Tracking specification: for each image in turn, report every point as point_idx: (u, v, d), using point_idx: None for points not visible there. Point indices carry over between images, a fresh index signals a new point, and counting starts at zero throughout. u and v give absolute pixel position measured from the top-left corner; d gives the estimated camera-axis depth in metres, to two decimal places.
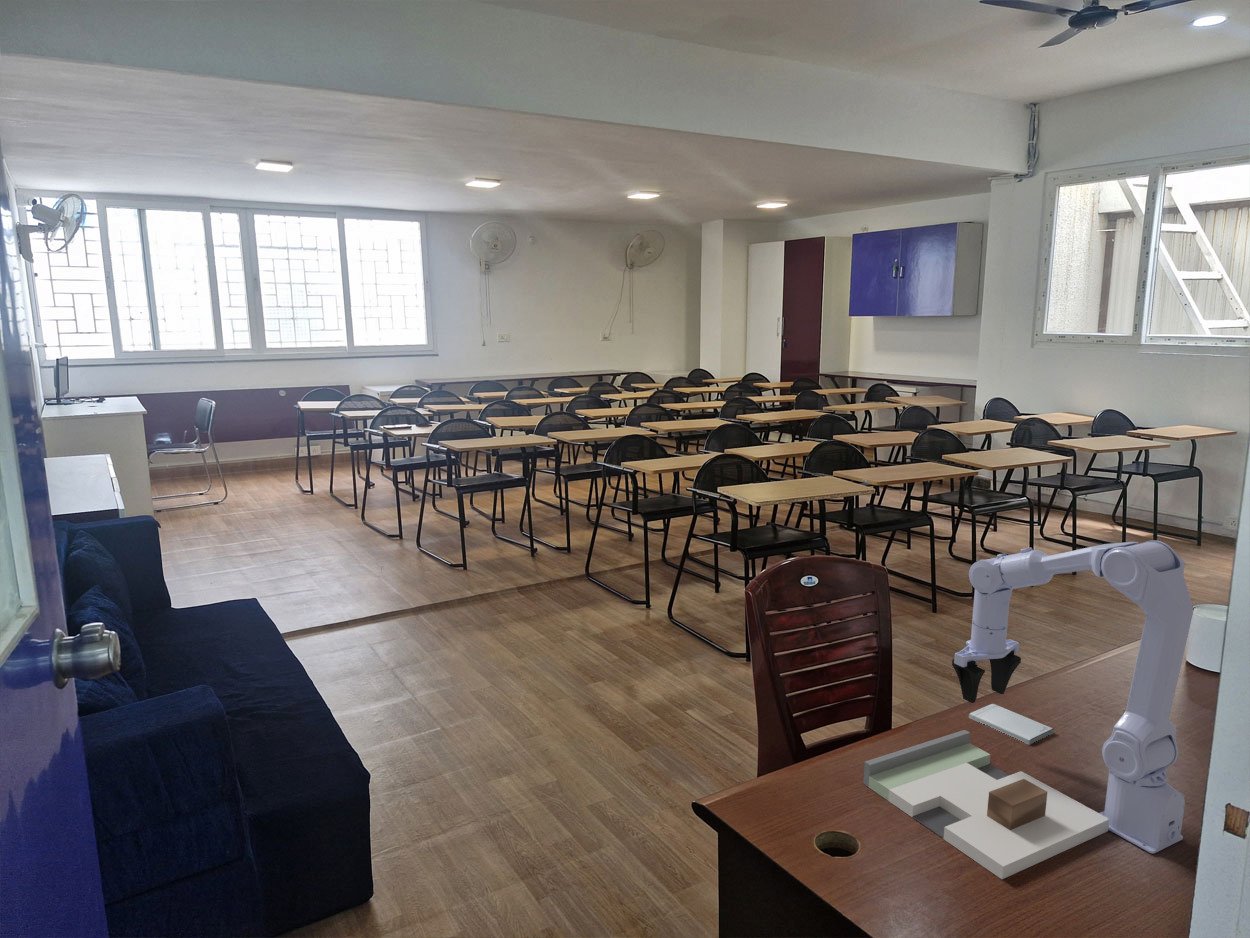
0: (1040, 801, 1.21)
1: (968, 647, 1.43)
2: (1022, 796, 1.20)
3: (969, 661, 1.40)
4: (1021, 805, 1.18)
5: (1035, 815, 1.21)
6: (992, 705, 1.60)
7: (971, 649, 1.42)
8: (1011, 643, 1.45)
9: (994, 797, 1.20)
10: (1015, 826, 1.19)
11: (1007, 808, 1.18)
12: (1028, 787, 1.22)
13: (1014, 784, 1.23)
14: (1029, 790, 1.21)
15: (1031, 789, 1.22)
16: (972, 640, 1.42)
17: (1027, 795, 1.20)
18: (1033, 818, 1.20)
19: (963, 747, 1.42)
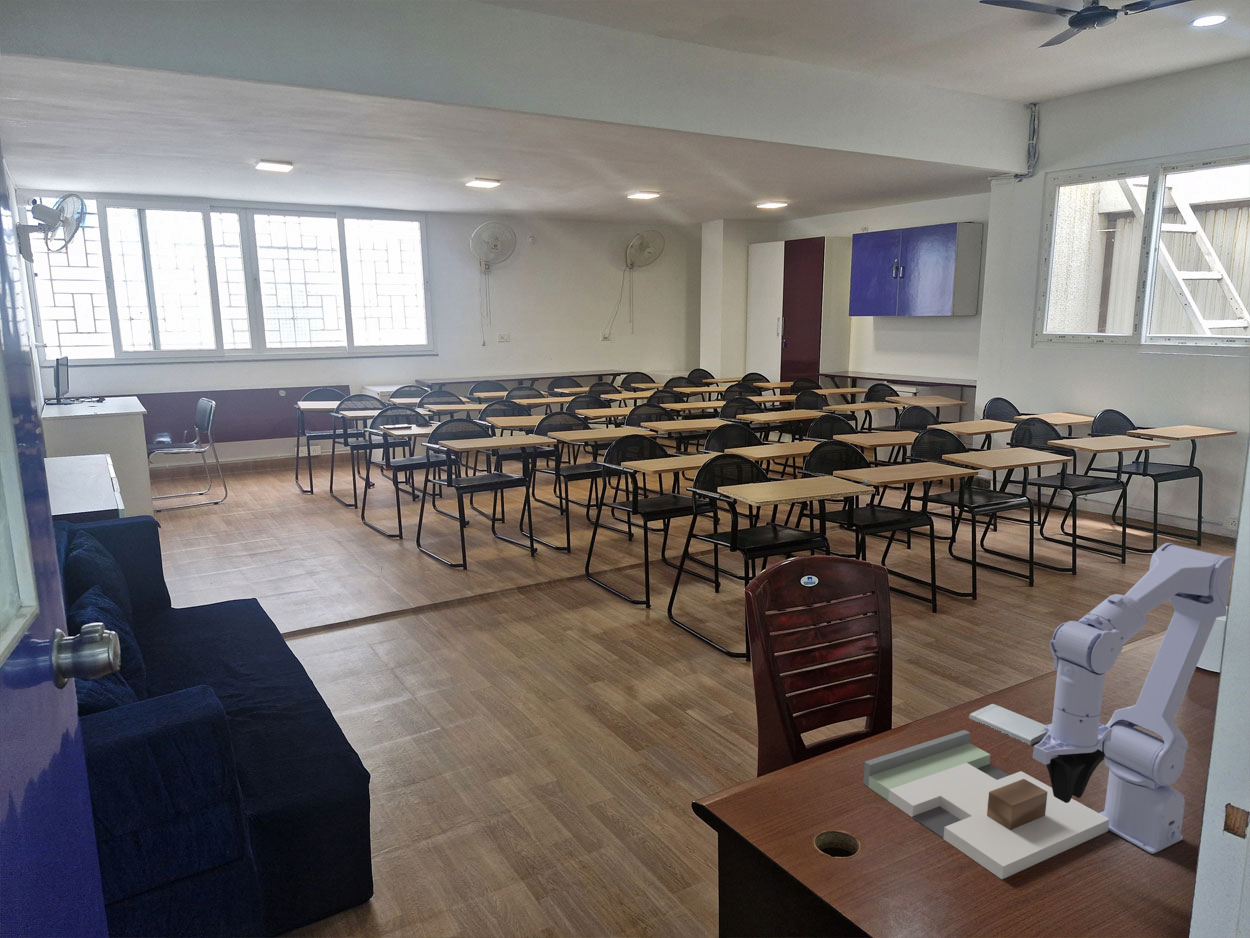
0: (1040, 801, 1.21)
1: (1049, 735, 1.13)
2: (1022, 796, 1.20)
3: (1052, 756, 1.10)
4: (1021, 805, 1.18)
5: (1035, 815, 1.21)
6: (992, 705, 1.60)
7: (1053, 739, 1.12)
8: (1101, 729, 1.15)
9: (994, 797, 1.20)
10: (1015, 826, 1.19)
11: (1007, 808, 1.18)
12: (1028, 787, 1.22)
13: (1014, 784, 1.23)
14: (1029, 790, 1.21)
15: (1031, 789, 1.22)
16: (1054, 728, 1.12)
17: (1027, 795, 1.20)
18: (1033, 818, 1.20)
19: (963, 747, 1.42)
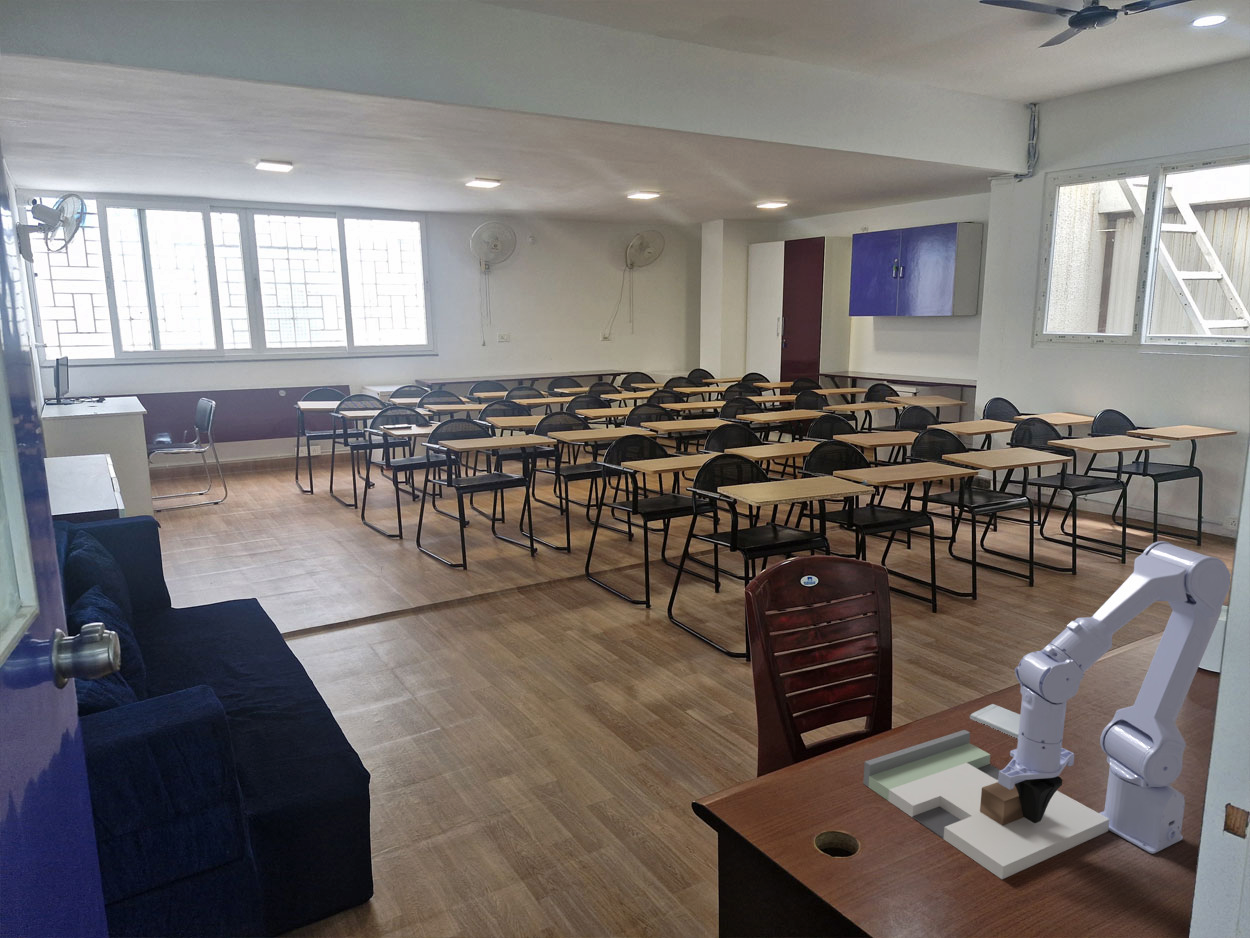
0: None
1: (1014, 761, 1.18)
2: (1015, 792, 1.21)
3: (1016, 780, 1.15)
4: (1013, 800, 1.20)
5: None
6: (992, 705, 1.60)
7: (1018, 764, 1.17)
8: (1064, 754, 1.20)
9: (987, 792, 1.21)
10: (1007, 821, 1.20)
11: (999, 804, 1.19)
12: None
13: None
14: None
15: None
16: (1019, 753, 1.17)
17: None
18: None
19: (963, 747, 1.42)
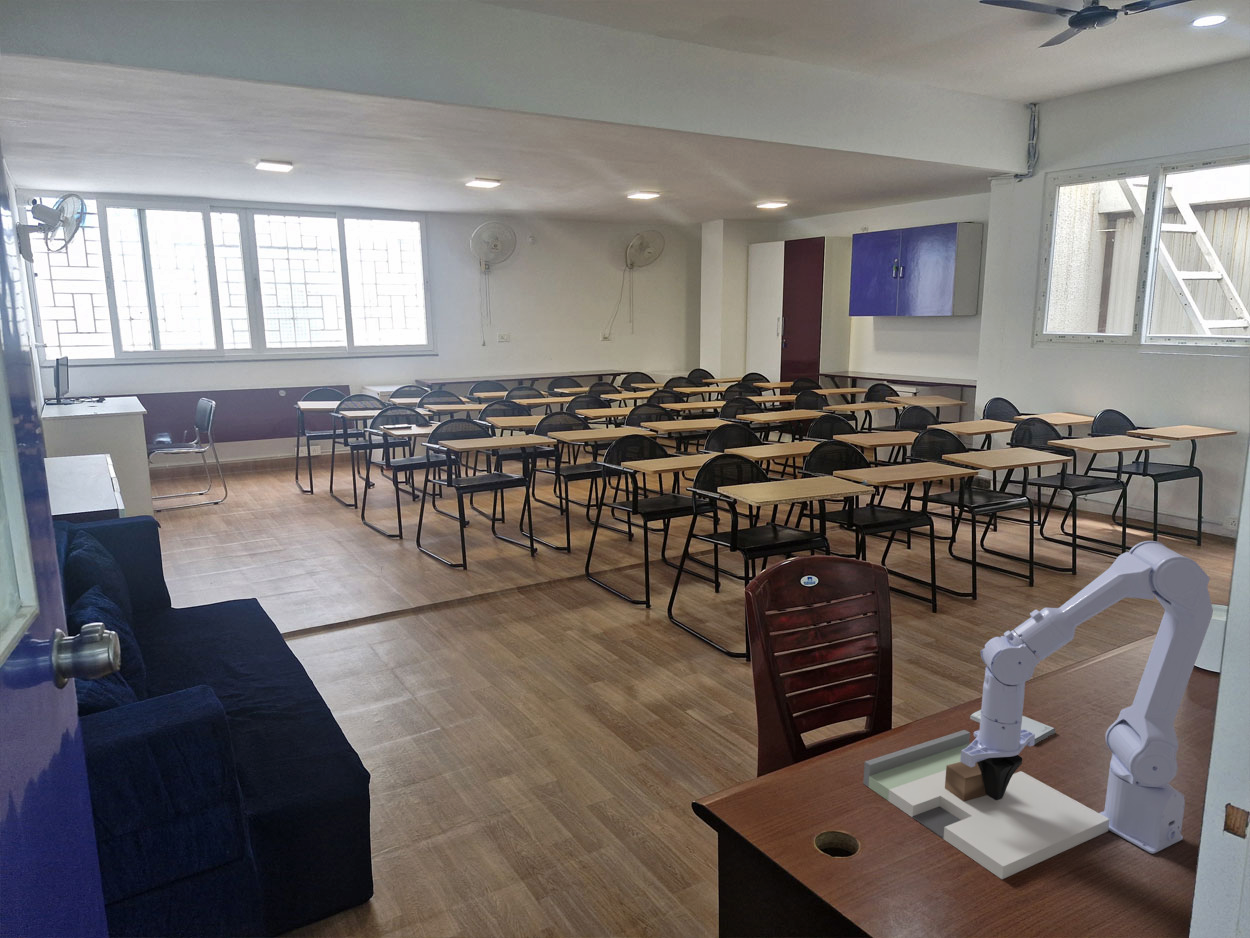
0: None
1: (976, 741, 1.24)
2: (978, 770, 1.27)
3: (978, 759, 1.21)
4: (975, 778, 1.25)
5: None
6: None
7: (980, 744, 1.23)
8: (1025, 734, 1.26)
9: (951, 770, 1.27)
10: (969, 798, 1.26)
11: (961, 781, 1.25)
12: None
13: None
14: None
15: None
16: (981, 733, 1.23)
17: None
18: None
19: (963, 747, 1.42)
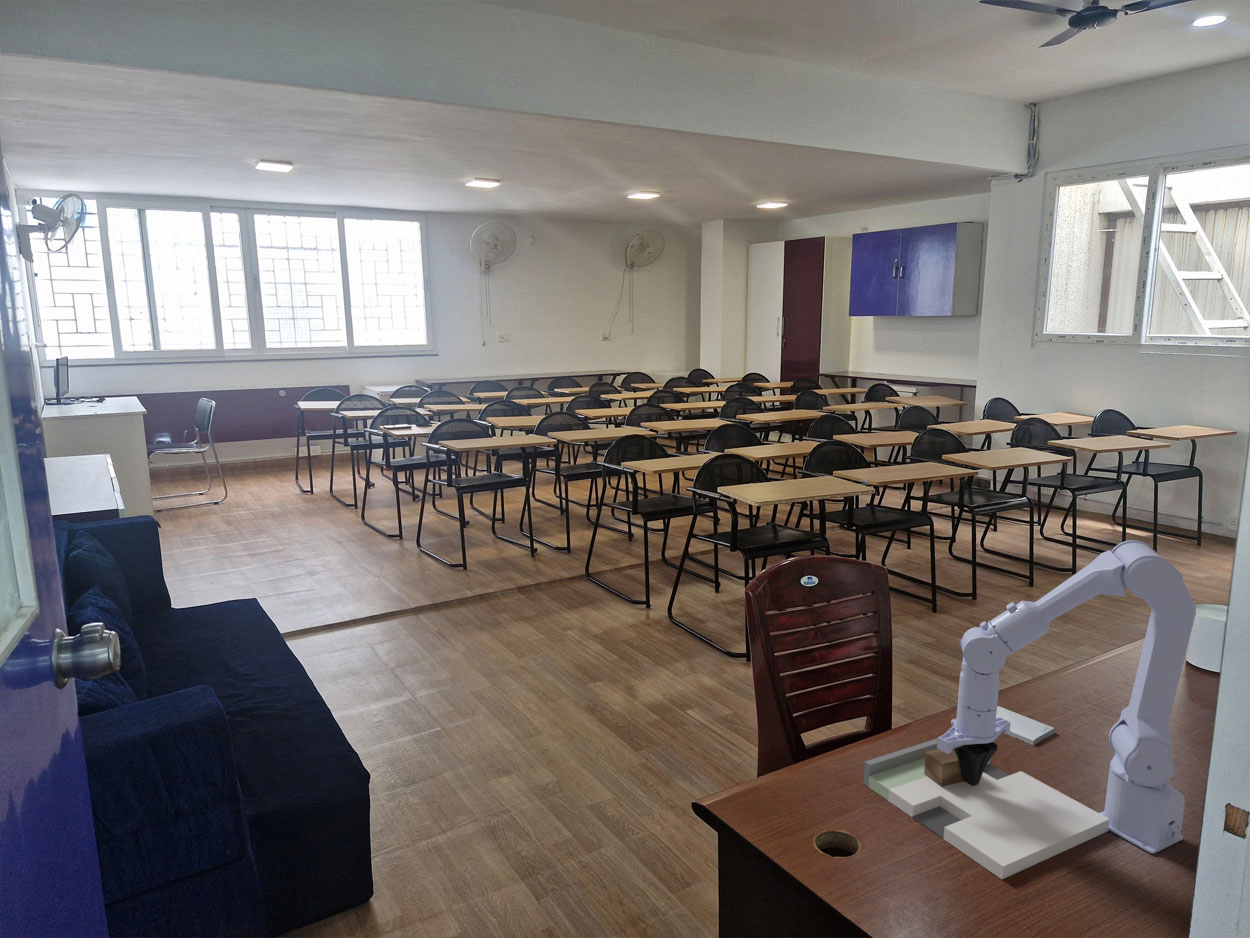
0: None
1: (953, 728, 1.28)
2: (956, 757, 1.31)
3: (954, 746, 1.25)
4: (953, 764, 1.29)
5: None
6: None
7: (956, 731, 1.27)
8: (1001, 722, 1.30)
9: (929, 756, 1.31)
10: (947, 783, 1.30)
11: (938, 766, 1.29)
12: None
13: None
14: None
15: None
16: (958, 721, 1.27)
17: None
18: None
19: None
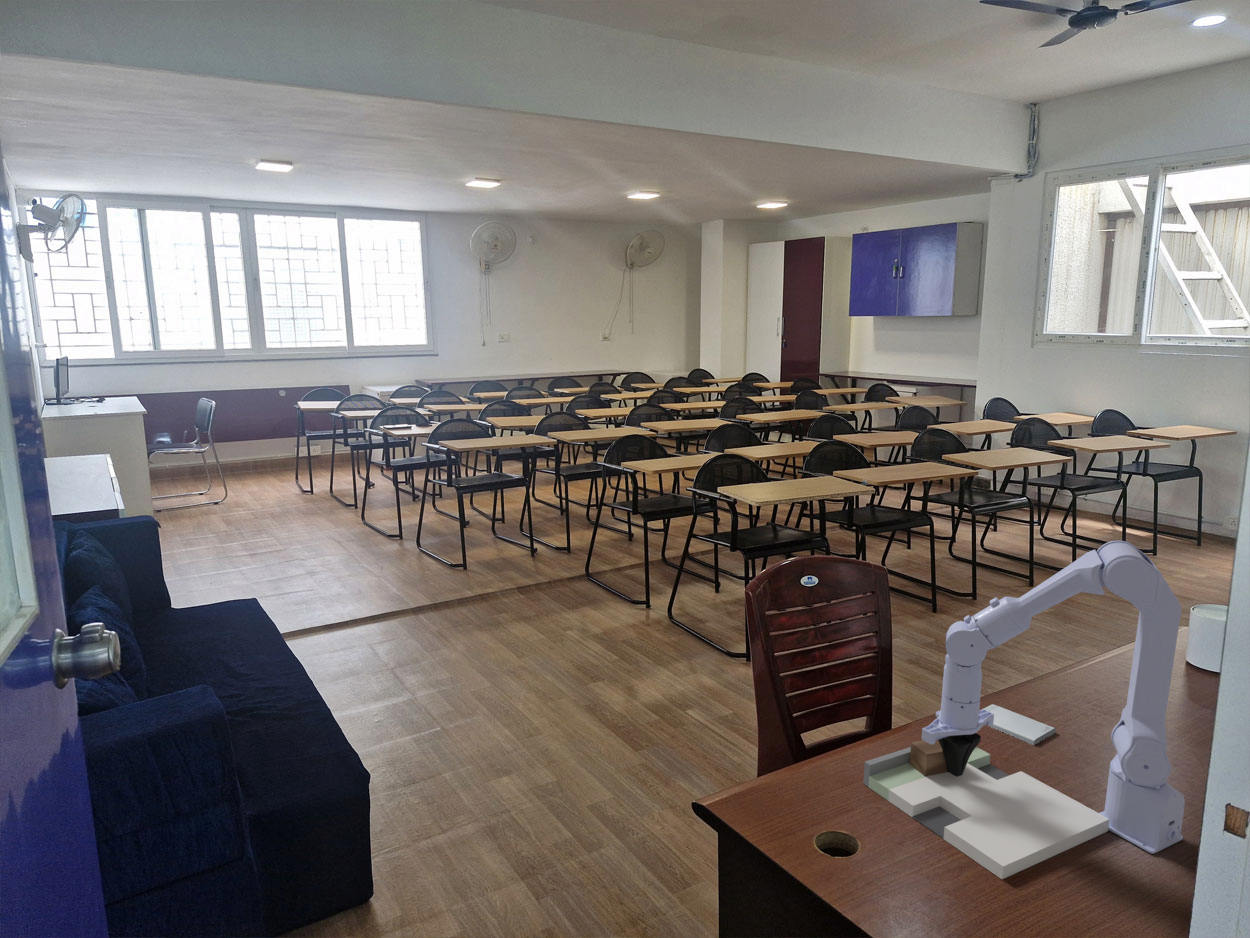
0: None
1: (938, 720, 1.30)
2: (941, 748, 1.33)
3: (938, 737, 1.28)
4: (937, 755, 1.32)
5: None
6: (992, 706, 1.60)
7: (941, 723, 1.30)
8: (985, 714, 1.33)
9: (914, 747, 1.34)
10: (931, 773, 1.33)
11: (923, 757, 1.32)
12: None
13: None
14: None
15: None
16: (942, 713, 1.30)
17: None
18: None
19: None
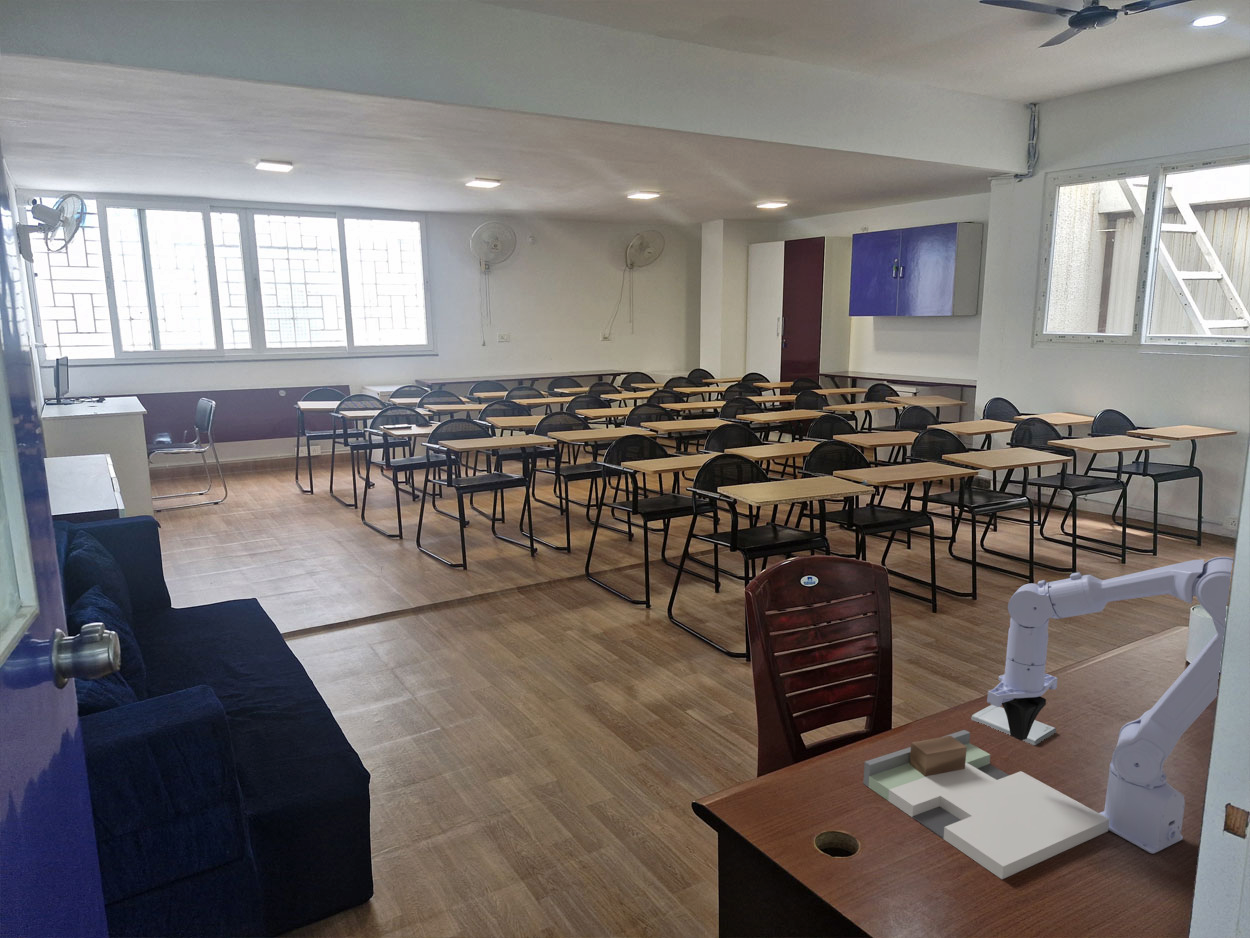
0: (958, 754, 1.34)
1: (1002, 683, 1.29)
2: (941, 748, 1.33)
3: (1004, 700, 1.27)
4: (937, 755, 1.32)
5: (953, 767, 1.34)
6: (992, 706, 1.60)
7: (1005, 686, 1.29)
8: (1048, 678, 1.32)
9: (914, 747, 1.34)
10: (931, 773, 1.33)
11: (923, 757, 1.32)
12: (950, 742, 1.35)
13: (938, 739, 1.37)
14: (949, 744, 1.35)
15: (952, 744, 1.35)
16: (1006, 676, 1.29)
17: (945, 748, 1.33)
18: (951, 769, 1.34)
19: None
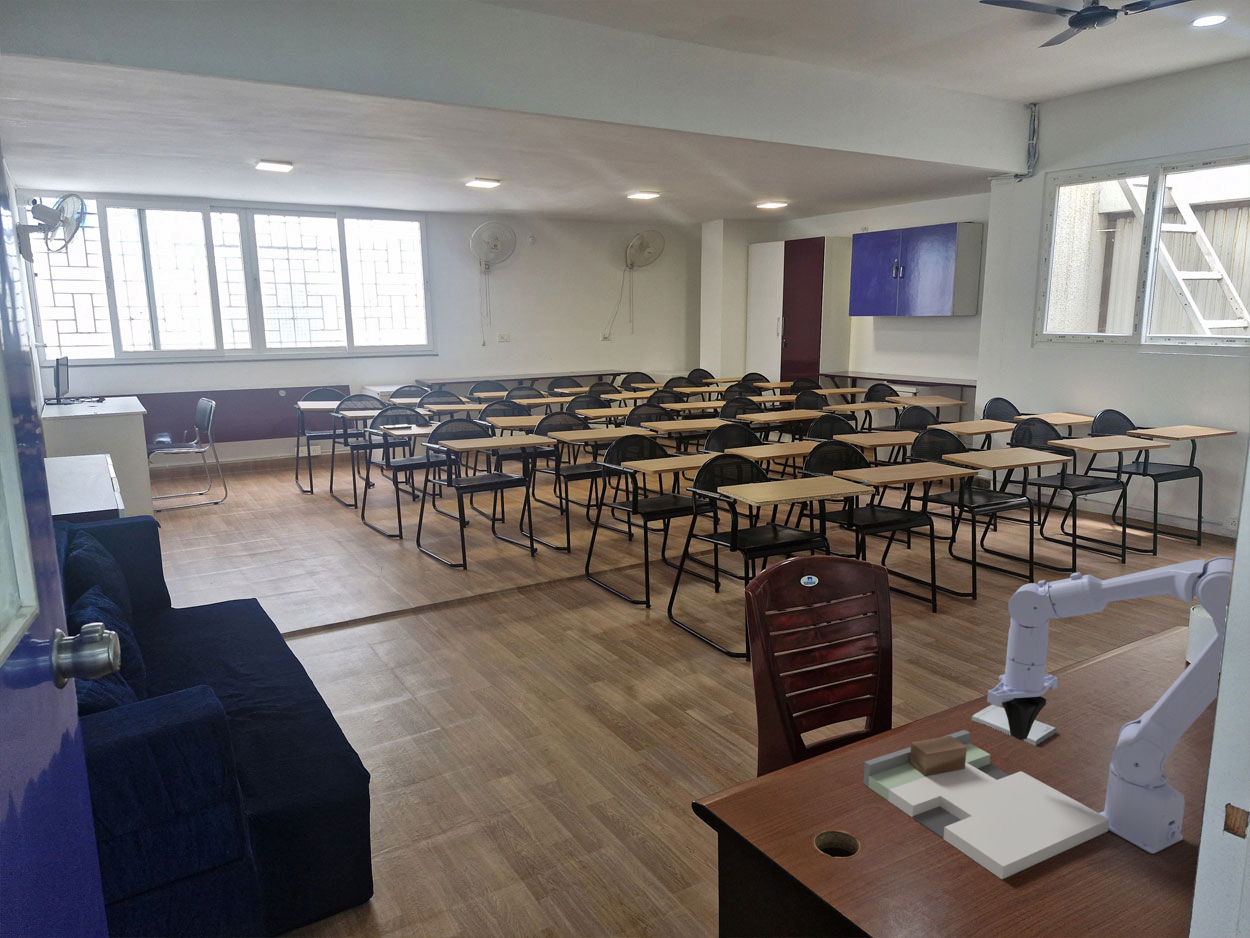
0: (958, 754, 1.34)
1: (1002, 683, 1.30)
2: (941, 748, 1.33)
3: (1004, 700, 1.27)
4: (937, 755, 1.32)
5: (953, 767, 1.34)
6: (992, 706, 1.60)
7: (1005, 686, 1.29)
8: (1049, 678, 1.32)
9: (914, 747, 1.34)
10: (931, 773, 1.33)
11: (923, 757, 1.32)
12: (950, 742, 1.35)
13: (938, 739, 1.37)
14: (949, 744, 1.35)
15: (952, 744, 1.35)
16: (1007, 676, 1.29)
17: (945, 748, 1.33)
18: (951, 769, 1.34)
19: None
